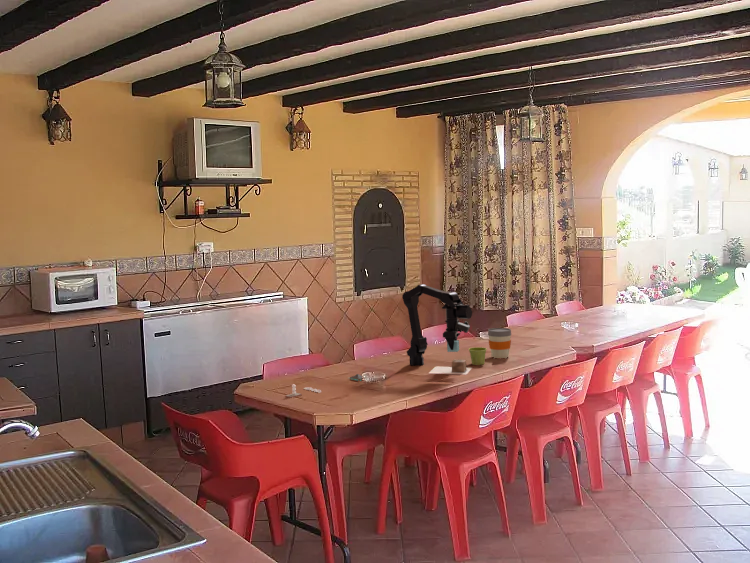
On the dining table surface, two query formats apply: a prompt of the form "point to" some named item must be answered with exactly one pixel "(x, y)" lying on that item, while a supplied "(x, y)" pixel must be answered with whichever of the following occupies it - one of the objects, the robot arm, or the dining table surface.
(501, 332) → the reusable coffee cup
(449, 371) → the board
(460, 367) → the walnut block
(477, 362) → the plant pot
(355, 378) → the game pieces
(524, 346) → the dining table surface
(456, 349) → the teal cube
